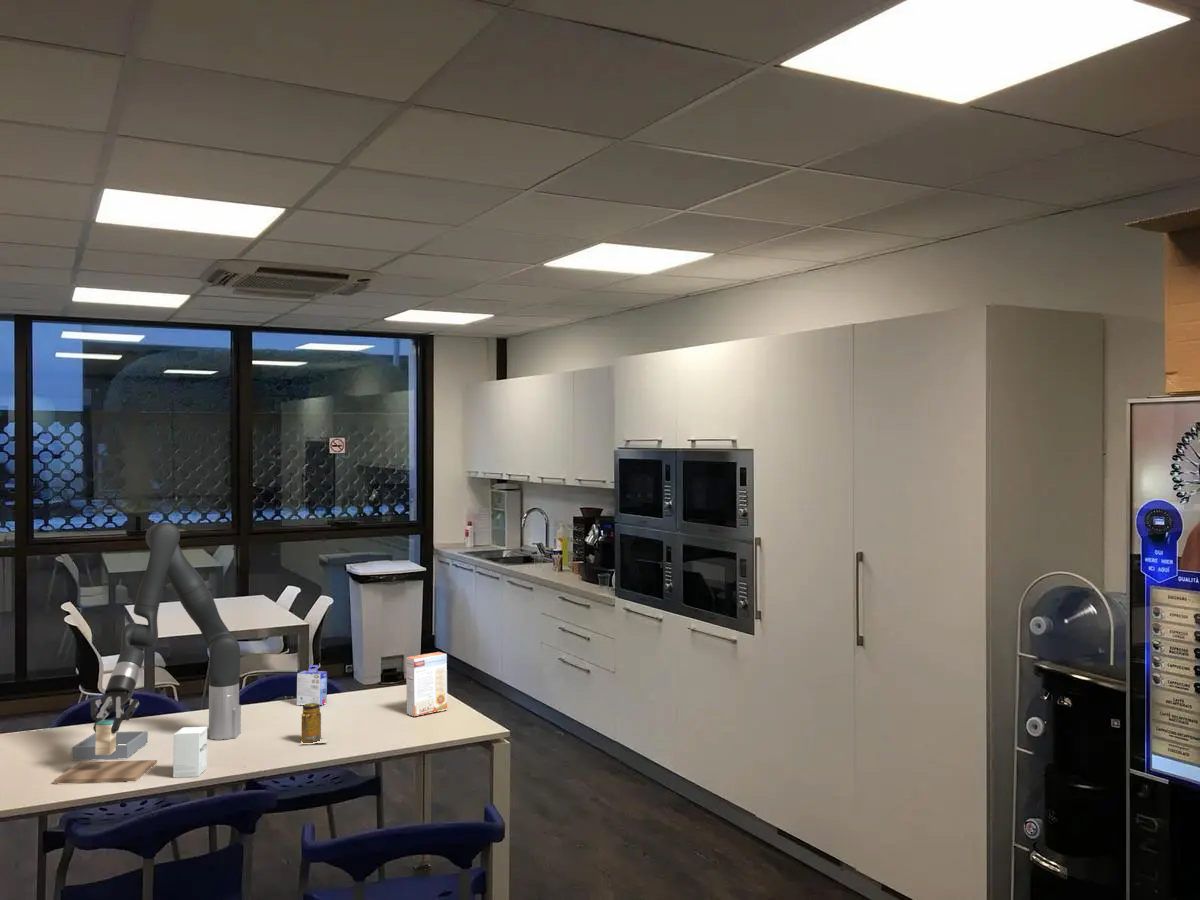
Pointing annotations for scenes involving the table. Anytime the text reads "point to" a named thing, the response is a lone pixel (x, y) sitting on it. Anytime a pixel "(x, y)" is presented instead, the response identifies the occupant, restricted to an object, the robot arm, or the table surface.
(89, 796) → the table surface
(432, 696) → the cracker box
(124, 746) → the parts bin
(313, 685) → the ink cartridge box
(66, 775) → the walnut board
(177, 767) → the supplement box
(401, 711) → the table surface
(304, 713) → the condiment
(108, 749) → the beech block
